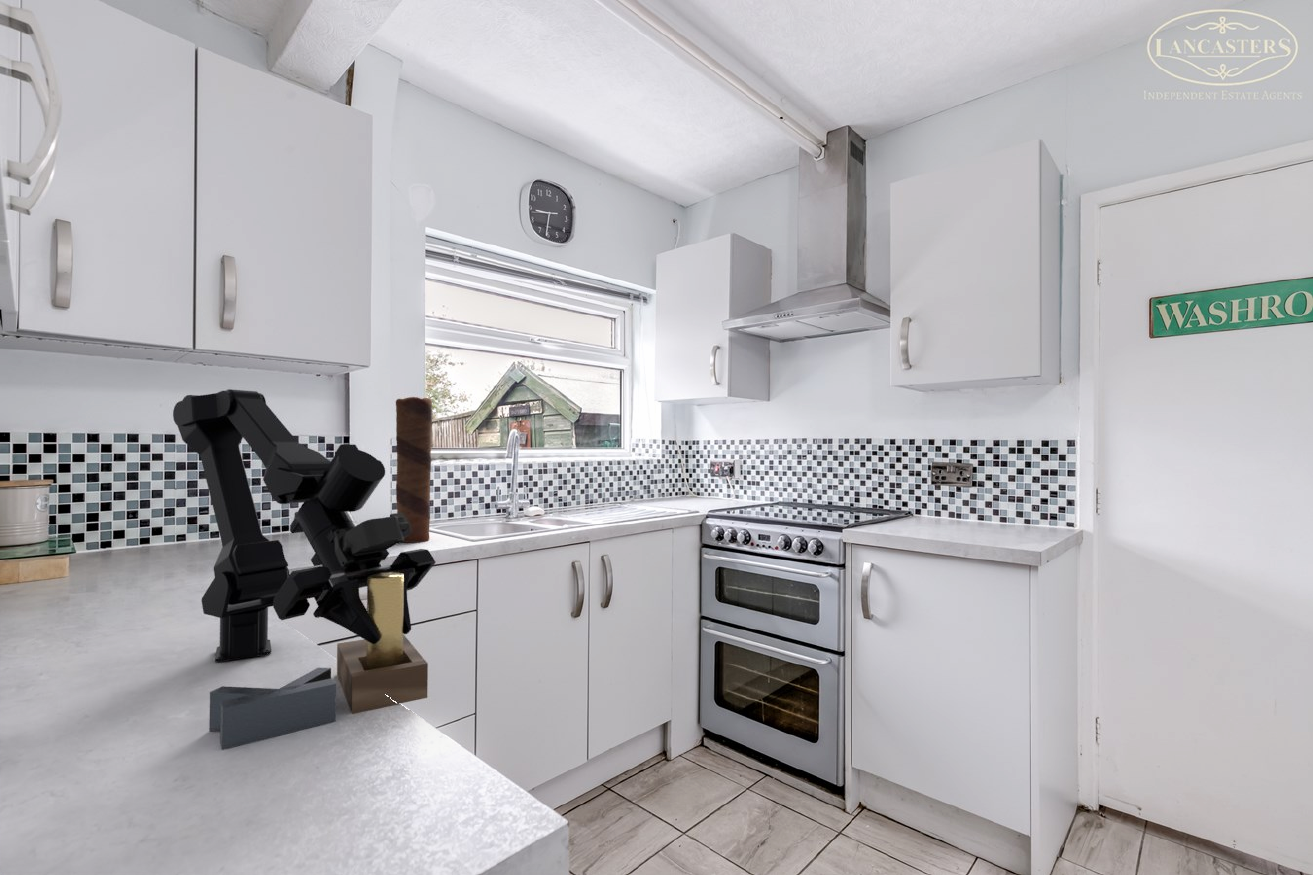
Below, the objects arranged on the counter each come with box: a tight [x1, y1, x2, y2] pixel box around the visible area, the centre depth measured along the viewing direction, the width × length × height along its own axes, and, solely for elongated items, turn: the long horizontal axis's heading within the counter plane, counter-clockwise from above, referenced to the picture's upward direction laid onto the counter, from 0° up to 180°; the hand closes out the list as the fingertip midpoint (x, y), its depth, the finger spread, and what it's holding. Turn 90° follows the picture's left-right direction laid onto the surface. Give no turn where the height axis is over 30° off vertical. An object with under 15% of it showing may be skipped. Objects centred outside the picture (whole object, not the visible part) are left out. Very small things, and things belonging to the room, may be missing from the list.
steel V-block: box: [208, 667, 337, 750], centre depth 66 cm, size 7×11×4 cm, turn 129°
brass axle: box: [366, 573, 404, 670], centre depth 74 cm, size 4×4×14 cm
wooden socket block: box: [336, 633, 429, 714], centre depth 77 cm, size 14×8×4 cm, turn 33°
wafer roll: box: [395, 396, 433, 543], centre depth 196 cm, size 10×11×45 cm
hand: (393, 636), depth 74 cm, fingers closed on brass axle, 4 cm apart
